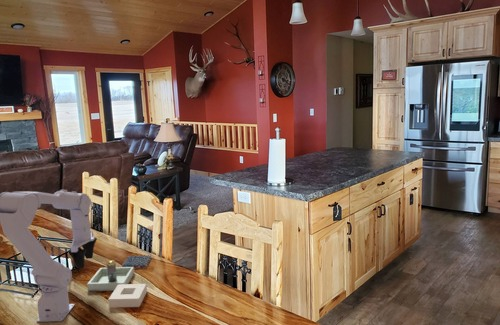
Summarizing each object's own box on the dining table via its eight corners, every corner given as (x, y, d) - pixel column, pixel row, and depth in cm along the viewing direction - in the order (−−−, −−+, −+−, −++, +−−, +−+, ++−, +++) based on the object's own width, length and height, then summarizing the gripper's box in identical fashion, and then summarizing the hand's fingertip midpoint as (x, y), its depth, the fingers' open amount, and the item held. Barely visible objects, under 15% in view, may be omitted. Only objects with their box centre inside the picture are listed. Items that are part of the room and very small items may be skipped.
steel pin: (114, 282, 144) (113, 263, 142) (106, 282, 144) (105, 263, 142) (118, 278, 146) (116, 259, 145) (110, 278, 147) (108, 259, 145)
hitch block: (139, 306, 128) (138, 298, 127) (109, 307, 128) (108, 299, 127) (146, 291, 138) (146, 283, 137) (118, 292, 138) (118, 284, 137)
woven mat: (120, 270, 156) (120, 265, 156) (128, 259, 166) (128, 255, 166) (146, 269, 156) (146, 265, 156) (152, 258, 166) (152, 254, 166)
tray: (124, 290, 139) (123, 282, 138) (87, 291, 139) (87, 283, 138) (134, 273, 152) (133, 266, 151) (101, 274, 152) (100, 267, 151)
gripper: (84, 233, 128) (88, 272, 131) (100, 219, 142) (103, 253, 145) (62, 234, 128) (67, 272, 131) (80, 219, 142) (84, 254, 145)
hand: (85, 262), depth 138 cm, fingers open, 7 cm apart
